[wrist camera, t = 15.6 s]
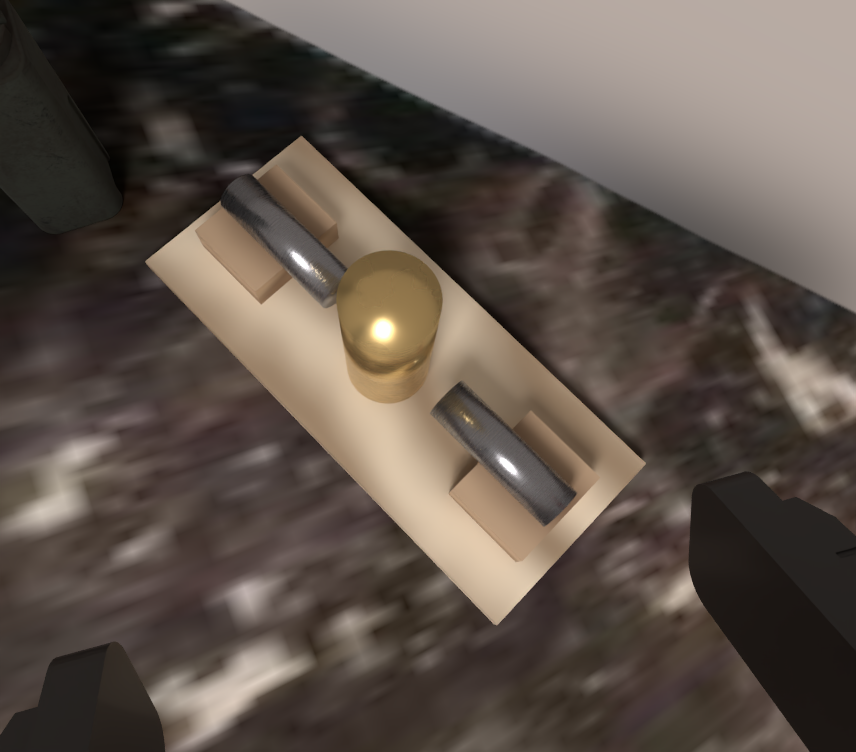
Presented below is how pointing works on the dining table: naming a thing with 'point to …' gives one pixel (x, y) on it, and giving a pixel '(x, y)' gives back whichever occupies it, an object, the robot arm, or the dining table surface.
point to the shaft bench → (410, 419)
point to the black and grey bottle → (47, 140)
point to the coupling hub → (388, 323)
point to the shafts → (457, 407)
